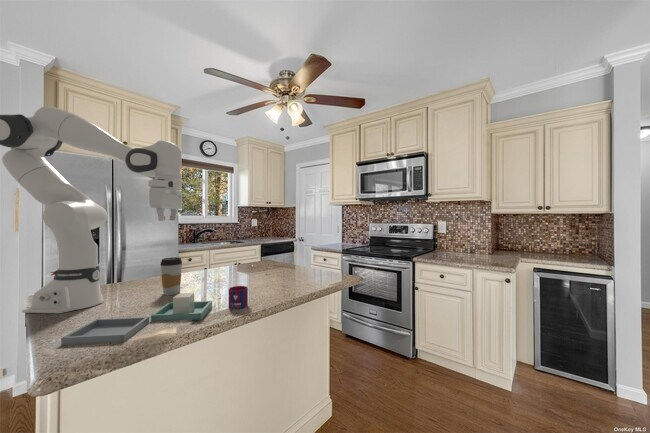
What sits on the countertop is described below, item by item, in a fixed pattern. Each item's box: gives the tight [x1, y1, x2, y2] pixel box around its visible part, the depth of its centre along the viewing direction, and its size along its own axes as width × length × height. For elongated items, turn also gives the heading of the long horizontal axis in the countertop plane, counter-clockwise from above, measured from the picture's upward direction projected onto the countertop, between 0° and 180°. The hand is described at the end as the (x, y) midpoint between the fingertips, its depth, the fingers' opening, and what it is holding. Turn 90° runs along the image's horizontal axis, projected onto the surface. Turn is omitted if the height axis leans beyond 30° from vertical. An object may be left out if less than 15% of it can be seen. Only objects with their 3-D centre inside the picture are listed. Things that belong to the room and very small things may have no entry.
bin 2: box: [150, 300, 213, 322], centre depth 94 cm, size 15×13×2 cm
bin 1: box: [60, 316, 150, 346], centre depth 78 cm, size 15×13×2 cm
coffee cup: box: [160, 256, 183, 296], centre depth 120 cm, size 8×8×15 cm
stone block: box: [172, 292, 195, 314], centre depth 94 cm, size 5×5×6 cm
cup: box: [228, 285, 249, 310], centre depth 104 cm, size 7×10×7 cm
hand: (167, 220), depth 106 cm, fingers open, 8 cm apart
